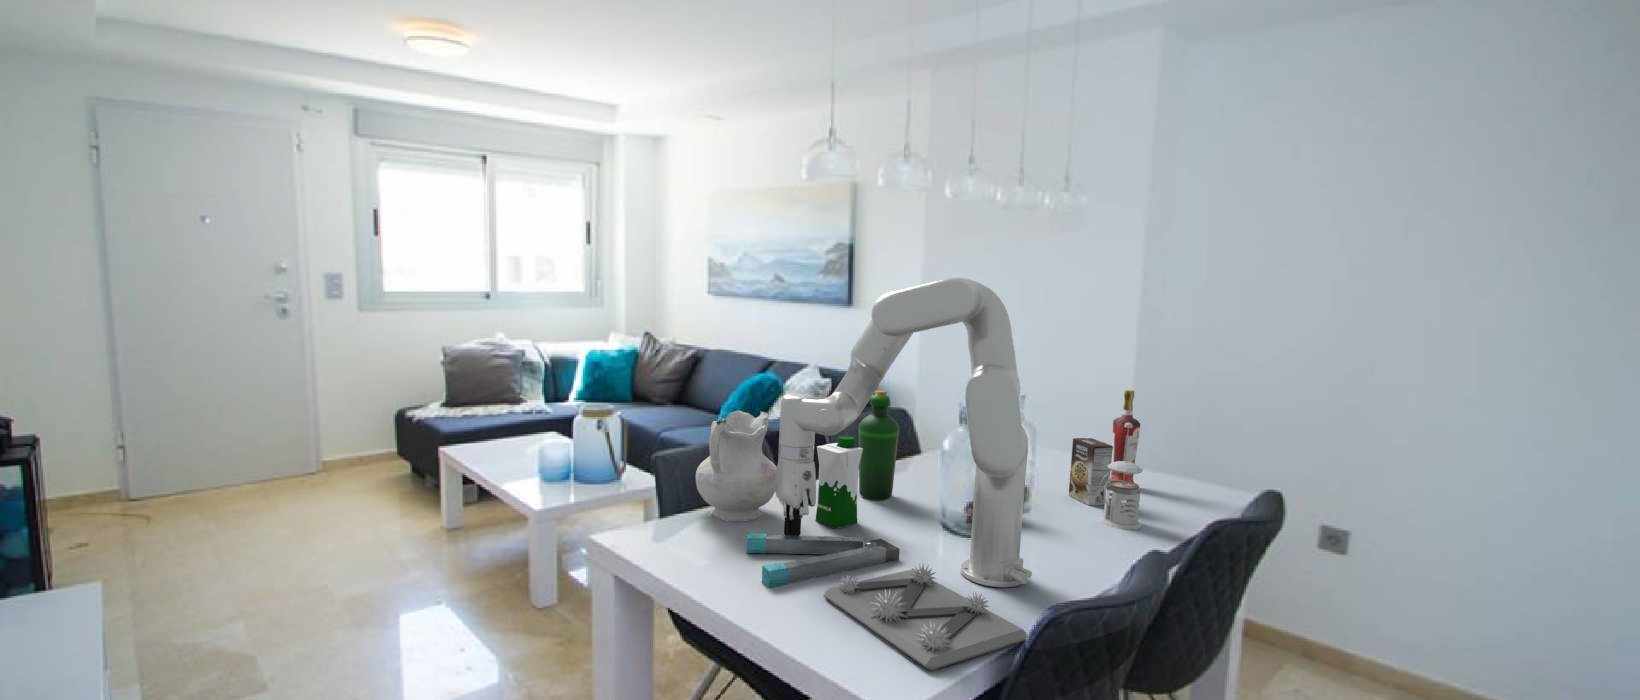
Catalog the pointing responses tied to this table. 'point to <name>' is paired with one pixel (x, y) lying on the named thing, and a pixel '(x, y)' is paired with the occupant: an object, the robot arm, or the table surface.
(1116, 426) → the liquor
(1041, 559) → the table surface
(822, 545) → the tongs arm
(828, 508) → the milk carton
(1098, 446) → the cookie box
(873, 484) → the bottle
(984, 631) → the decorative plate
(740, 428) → the ceramic pitcher
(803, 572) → the base
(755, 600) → the table surface
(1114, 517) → the french press
